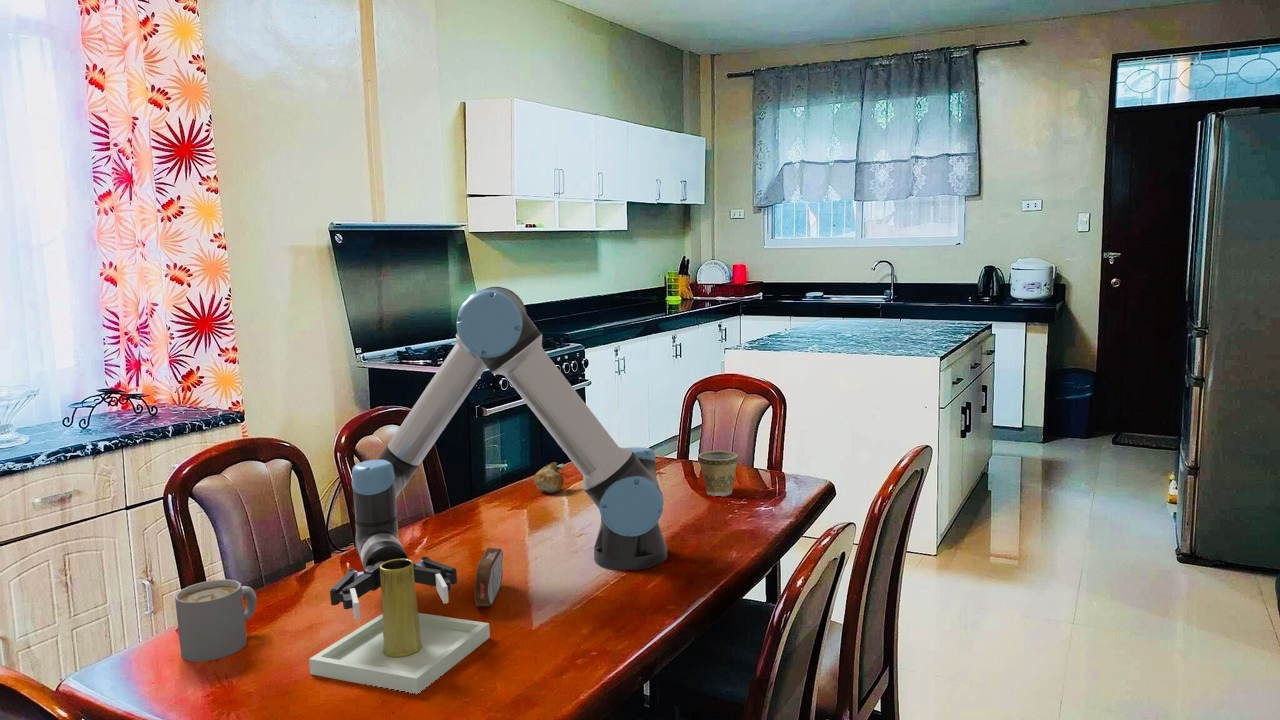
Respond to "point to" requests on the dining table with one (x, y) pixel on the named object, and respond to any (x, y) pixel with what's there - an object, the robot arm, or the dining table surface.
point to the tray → (369, 665)
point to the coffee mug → (213, 619)
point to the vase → (399, 608)
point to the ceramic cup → (718, 471)
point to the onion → (549, 478)
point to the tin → (488, 577)
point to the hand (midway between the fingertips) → (402, 603)
